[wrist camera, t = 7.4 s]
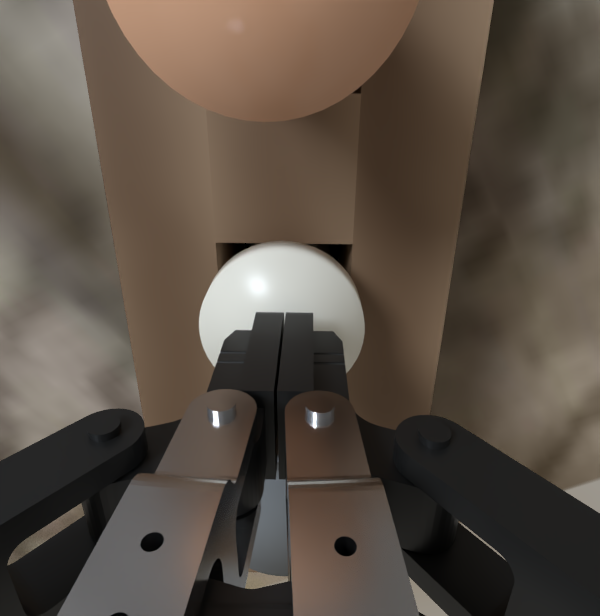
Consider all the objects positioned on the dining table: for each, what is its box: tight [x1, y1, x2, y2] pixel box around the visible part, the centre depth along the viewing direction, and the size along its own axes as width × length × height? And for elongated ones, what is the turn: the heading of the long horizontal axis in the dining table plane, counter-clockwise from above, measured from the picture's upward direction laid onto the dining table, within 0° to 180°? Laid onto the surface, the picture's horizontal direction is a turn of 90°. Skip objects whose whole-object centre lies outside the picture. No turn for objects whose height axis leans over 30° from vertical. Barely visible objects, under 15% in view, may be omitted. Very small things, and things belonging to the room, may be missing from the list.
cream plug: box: [199, 241, 365, 373], centre depth 16 cm, size 5×5×7 cm
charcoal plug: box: [249, 460, 288, 576], centre depth 20 cm, size 5×5×7 cm
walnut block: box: [73, 0, 494, 572], centre depth 17 cm, size 10×25×6 cm, turn 0°
